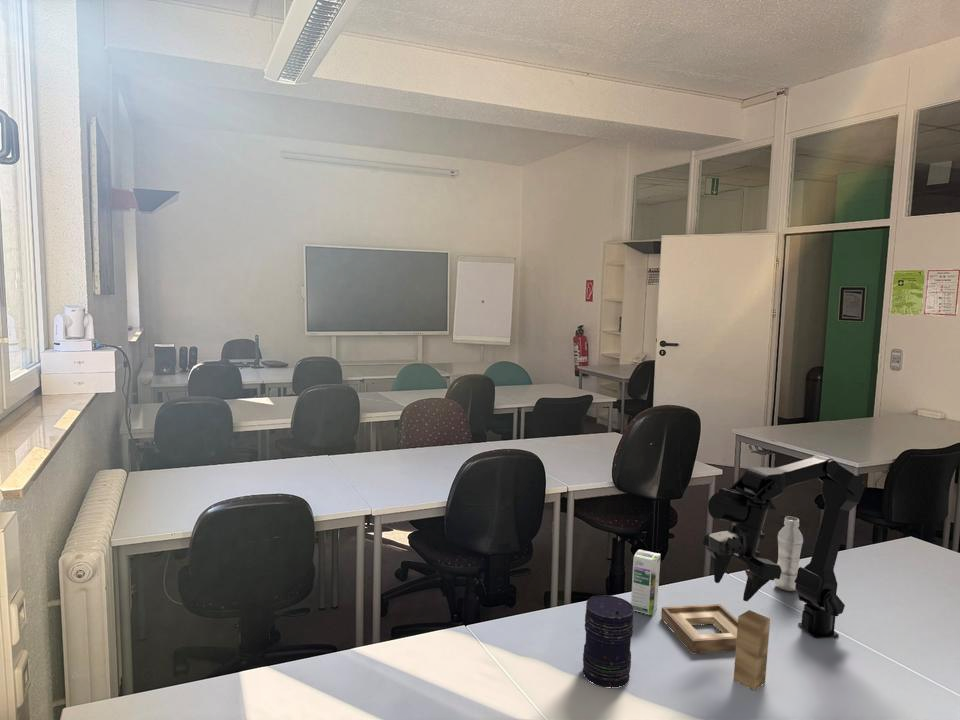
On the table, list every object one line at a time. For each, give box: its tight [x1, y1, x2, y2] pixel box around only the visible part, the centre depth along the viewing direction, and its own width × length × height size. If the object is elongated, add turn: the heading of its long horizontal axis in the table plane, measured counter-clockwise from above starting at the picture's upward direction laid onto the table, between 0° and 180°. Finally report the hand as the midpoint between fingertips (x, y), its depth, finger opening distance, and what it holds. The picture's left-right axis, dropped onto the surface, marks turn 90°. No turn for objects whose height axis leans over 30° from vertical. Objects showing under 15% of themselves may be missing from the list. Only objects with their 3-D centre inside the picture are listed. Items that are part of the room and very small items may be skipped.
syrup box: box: [630, 549, 661, 616], centre depth 162 cm, size 6×6×14 cm
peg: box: [733, 609, 771, 691], centre depth 133 cm, size 4×4×14 cm
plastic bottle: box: [773, 515, 804, 592], centre depth 177 cm, size 6×7×20 cm
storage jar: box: [582, 594, 635, 689], centre depth 133 cm, size 10×10×15 cm
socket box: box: [660, 603, 738, 654], centre depth 152 cm, size 16×16×3 cm
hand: (730, 591), depth 144 cm, fingers open, 9 cm apart
